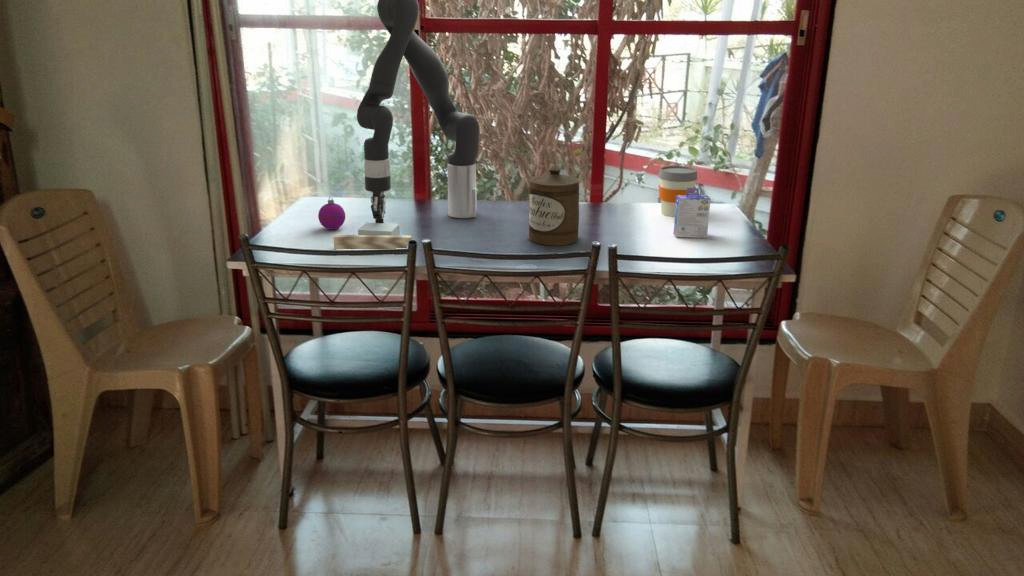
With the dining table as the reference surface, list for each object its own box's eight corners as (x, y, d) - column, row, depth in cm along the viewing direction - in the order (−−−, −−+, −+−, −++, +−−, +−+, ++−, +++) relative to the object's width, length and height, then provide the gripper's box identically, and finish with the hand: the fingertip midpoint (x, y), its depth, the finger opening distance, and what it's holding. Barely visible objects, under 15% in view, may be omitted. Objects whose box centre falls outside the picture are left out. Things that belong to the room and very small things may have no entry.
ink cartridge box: (704, 233, 258) (708, 187, 253) (708, 238, 252) (712, 191, 247) (672, 232, 258) (675, 186, 253) (675, 238, 252) (679, 191, 247)
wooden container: (518, 239, 250) (519, 166, 242) (549, 229, 260) (551, 159, 253) (557, 249, 241) (559, 174, 233) (587, 238, 251) (591, 166, 244)
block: (399, 240, 248) (399, 224, 247) (392, 248, 241) (391, 231, 239) (367, 238, 250) (366, 222, 248) (358, 246, 242) (357, 229, 241)
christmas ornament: (316, 232, 254) (313, 200, 251) (323, 225, 262) (321, 193, 259) (342, 232, 254) (340, 200, 251) (348, 225, 262) (347, 194, 258)
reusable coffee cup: (648, 212, 280) (651, 168, 275) (673, 207, 288) (677, 164, 283) (676, 220, 271) (679, 175, 266) (701, 214, 278) (705, 170, 273)
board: (412, 248, 239) (411, 235, 238) (411, 251, 237) (410, 237, 236) (335, 248, 239) (334, 234, 238) (334, 250, 237) (333, 236, 236)
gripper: (386, 179, 239) (389, 237, 245) (393, 169, 251) (395, 224, 257) (360, 178, 239) (363, 236, 245) (368, 169, 251) (371, 224, 257)
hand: (380, 230), depth 251 cm, fingers closed
